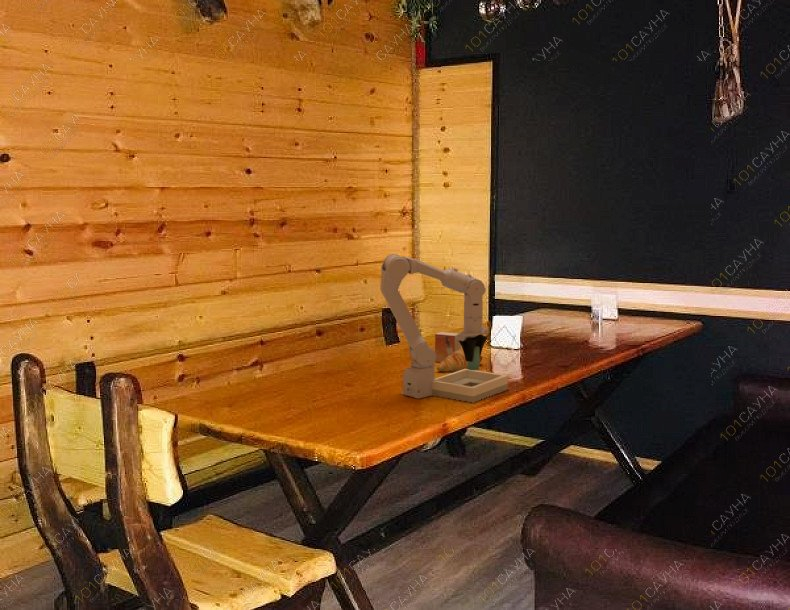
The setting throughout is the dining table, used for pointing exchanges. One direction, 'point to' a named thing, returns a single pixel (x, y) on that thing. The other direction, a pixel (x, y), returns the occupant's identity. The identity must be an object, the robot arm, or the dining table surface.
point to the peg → (474, 360)
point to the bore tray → (469, 385)
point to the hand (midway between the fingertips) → (472, 360)
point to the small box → (445, 345)
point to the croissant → (454, 362)
